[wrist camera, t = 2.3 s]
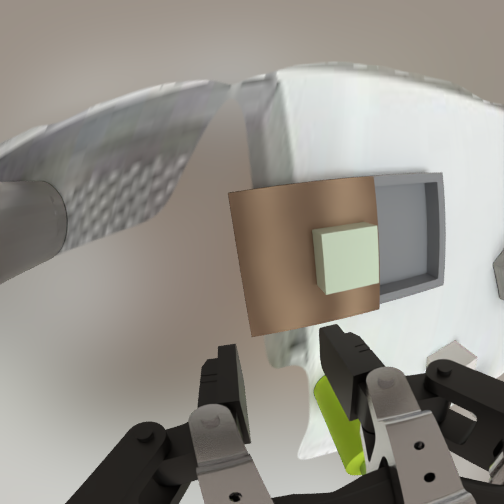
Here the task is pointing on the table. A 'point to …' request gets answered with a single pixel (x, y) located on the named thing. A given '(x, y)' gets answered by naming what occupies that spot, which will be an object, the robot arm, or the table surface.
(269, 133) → the table surface
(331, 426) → the soap dispenser
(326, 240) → the tile
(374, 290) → the brown flat square block
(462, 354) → the white cube
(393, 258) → the box
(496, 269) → the skincare box
